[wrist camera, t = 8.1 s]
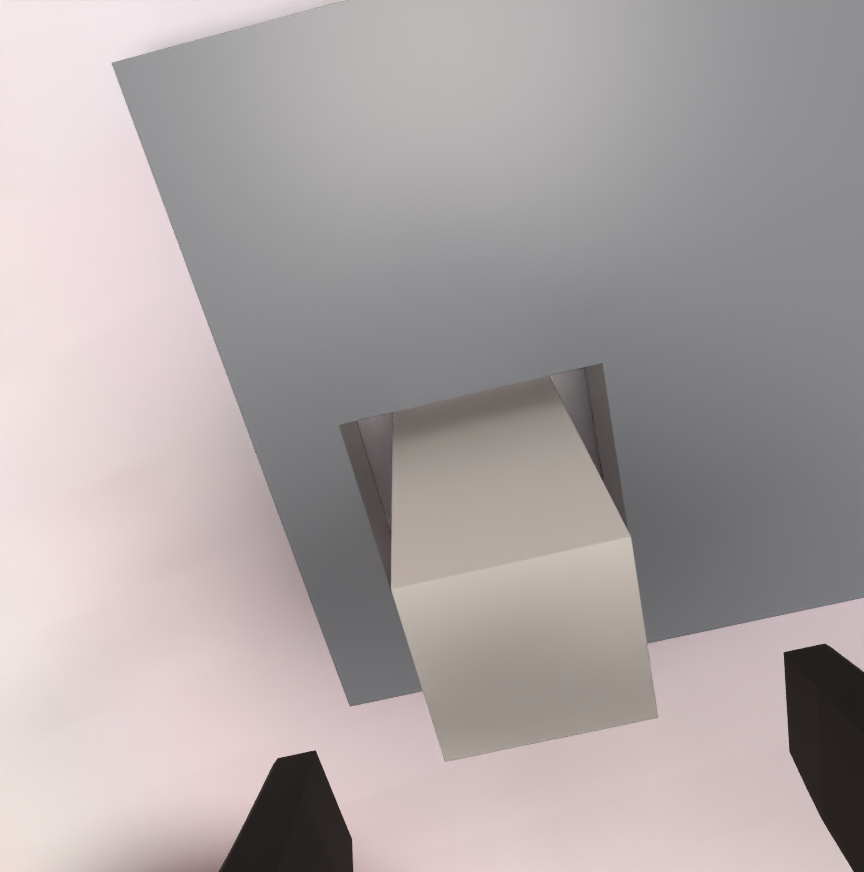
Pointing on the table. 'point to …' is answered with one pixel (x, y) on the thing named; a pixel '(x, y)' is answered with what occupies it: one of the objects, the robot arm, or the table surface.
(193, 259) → the outlet plate
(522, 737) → the beige rectangular block
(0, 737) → the table surface
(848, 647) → the table surface
